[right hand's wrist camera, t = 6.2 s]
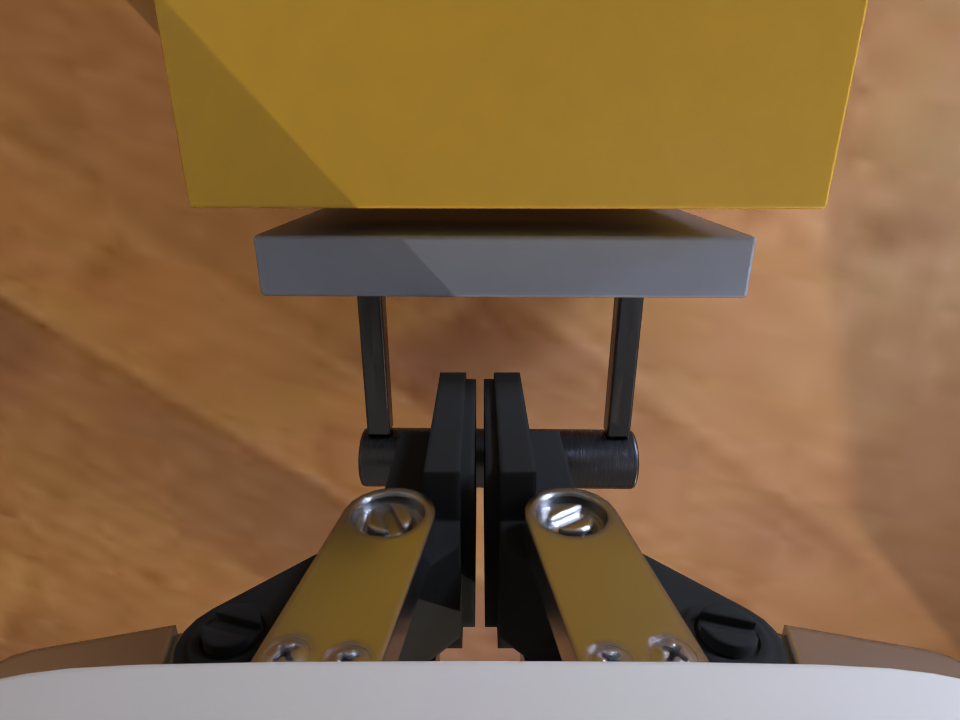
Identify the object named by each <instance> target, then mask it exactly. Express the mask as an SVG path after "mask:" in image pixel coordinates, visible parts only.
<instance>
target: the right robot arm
mask: <svg viewBox="0 0 960 720" xmlns="http://www.w3.org/2000/svg"><path fill="white" fill-rule="evenodd" d="M475 572H476V379H466V373H440V378H439V384H438V389H437V395H436V401H435V407H434V413H433V419H432V425H431V430H430V431H401V433H400V436H399V439H398V443H397V447H396V450H395V454H394V458H393V461H392V465H391V469H390V472H389V476H388V480H387V483H386V487H385V489H380V490H375V491H372V492H369V493H366V494H364V495H362V496H360V497H358V498H357V499H355V500H354V501H352V502H351V503H350V504H349V505H348V507H347V508H346V509H345V510H344V512H343V513H342V515H341V516H340V518H339V520H338V521H337V523H336V525H335V526H334V528H333V529H332V531H331V533H330V534H329V536H328V537H327V539H326V541H325V542H324V544H323V546H322V547H321V549H320V550H319V552H318V554H316V555H314V556H312V557H310V558H308V559H306V560H305V561H303V562H301V563H299V564H297V565H295V566H293V567H291V568H289V569H288V570H286V571H284V572H282V573H280V574H278V575H276V576H274V577H272V578H271V579H269V580H267V581H265V582H263V583H261V584H259V585H257V586H255V587H253V588H252V589H250V590H248V591H246V592H244V593H242V594H240V595H238V596H236V597H235V598H233V599H231V600H229V601H227V602H225V603H223V604H221V605H219V606H218V607H216V608H214V609H212V610H210V611H209V612H207V613H206V614H204V615H203V616H201V617H200V618H198V619H197V620H195V621H194V622H193V623H192V624H191V625H190V626H189V627H188V628H187V629H186V630H185V631H184V633H182V634H178V633H177V628H176V625H173V626H167V627H161V628H155V629H150V630H144V631H138V632H132V633H126V634H121V635H115V636H109V637H103V638H98V639H92V640H86V641H80V642H74V643H69V644H63V645H57V646H51V647H46V648H40V649H34V650H30V651H27V652H23V653H20V654H16V655H13V656H10V657H8V658H6V659H4V660H2V661H0V720H960V661H958V660H956V659H954V658H952V657H950V656H947V655H944V654H940V653H937V652H933V651H930V650H926V649H920V648H914V647H909V646H903V645H897V644H891V643H886V642H880V641H874V640H868V639H862V638H857V637H851V636H845V635H839V634H834V633H828V632H822V631H816V630H810V629H805V628H799V627H793V626H787V625H784V628H783V633H782V634H778V633H776V631H775V630H774V629H773V628H772V627H771V626H770V625H769V624H768V623H767V622H766V621H765V620H763V619H762V618H760V617H759V616H757V615H756V614H754V613H753V612H751V611H750V610H748V609H746V608H744V607H742V606H741V605H739V604H737V603H735V602H733V601H731V600H729V599H727V598H725V597H724V596H722V595H720V594H718V593H716V592H714V591H712V590H710V589H708V588H707V587H705V586H703V585H701V584H699V583H697V582H695V581H693V580H691V579H689V578H688V577H686V576H684V575H682V574H680V573H678V572H676V571H674V570H672V569H671V568H669V567H667V566H665V565H663V564H661V563H659V562H657V561H655V560H654V559H652V558H650V557H648V556H646V555H644V554H642V552H641V550H640V549H639V547H638V546H637V544H636V542H635V541H634V539H633V537H632V536H631V534H630V533H629V531H628V529H627V528H626V526H625V525H624V523H623V521H622V520H621V518H620V516H619V515H618V513H617V512H616V510H615V509H614V508H613V507H612V505H611V504H610V503H609V502H608V501H606V500H605V499H603V498H602V497H600V496H598V495H596V494H594V493H591V492H588V491H585V490H580V489H575V487H574V483H573V480H572V476H571V472H570V469H569V465H568V461H567V458H566V454H565V450H564V447H563V443H562V439H561V436H560V433H559V431H530V430H529V425H528V419H527V413H526V407H525V401H524V395H523V389H522V384H521V378H520V373H494V379H484V572H485V627H497V637H498V648H514V649H515V650H517V651H518V652H519V653H520V661H440V653H441V652H442V651H443V650H445V649H446V648H462V637H463V627H475Z"/></svg>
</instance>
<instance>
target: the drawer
mask: <svg viewBox="0 0 960 720" xmlns="http://www.w3.org/2000/svg"><path fill="white" fill-rule="evenodd" d="M254 243H255V251H256V258H257V265H258V273H259V280H260V287H261V293H262V295H265V296H357V300H358V313H359V326H360V339H361V352H362V365H363V378H364V391H365V404H366V417H367V428H366V429H365V430H364V431H363V434H362V436H361V440H360V446H359V457H358V467H359V476H360V480H361V483H362V485H364V486H386V483H387V480H388V476H389V472H390V469H391V465H392V461H393V458H394V454H395V450H396V447H397V443H398V439H399V436H400V433H401V431H430V430H431V428H392V426H393V417H392V400H391V383H390V366H389V349H388V332H387V315H386V298H385V296H421V297H614V309H613V321H612V333H611V345H610V357H609V369H608V380H607V392H606V404H605V416H604V429H605V430H584V429H529V430H530V431H559V433H560V436H561V439H562V443H563V447H564V450H565V454H566V458H567V461H568V465H569V469H570V472H571V476H572V480H573V483H574V487H575V488H583V489H632V488H634V487H635V485H636V482H637V479H638V472H639V453H638V446H637V441H636V438H635V435H634V433H633V432H632V431H630V427H631V417H632V407H633V398H634V388H635V378H636V368H637V358H638V349H639V339H640V329H641V319H642V310H643V300H644V298H743V297H745V296H746V294H747V288H748V282H749V276H750V270H751V264H752V258H753V252H754V246H755V237H753V236H751V235H748V234H745V233H742V232H739V231H737V230H734V229H731V228H728V227H726V226H723V225H720V224H717V223H714V222H712V221H709V220H706V219H703V218H701V217H698V216H695V215H692V214H689V213H687V212H684V211H681V210H678V209H503V208H324V209H321V210H319V211H316V212H314V213H311V214H308V215H306V216H303V217H301V218H298V219H296V220H293V221H291V222H288V223H286V224H283V225H281V226H278V227H276V228H273V229H271V230H268V231H265V232H263V233H260V234H258V235H256V236H255V237H254ZM476 487H484V429H476Z"/></svg>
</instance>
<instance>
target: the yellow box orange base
mask: <svg viewBox="0 0 960 720" xmlns="http://www.w3.org/2000/svg"><path fill="white" fill-rule="evenodd" d="M154 4H155V10H156V16H157V22H158V28H159V33H160V39H161V45H162V51H163V57H164V63H165V68H166V74H167V80H168V86H169V92H170V97H171V103H172V109H173V115H174V121H175V127H176V132H177V138H178V144H179V150H180V156H181V161H182V167H183V173H184V179H185V185H186V191H187V196H188V202H189V205H190V207H193V208H503V209H823V208H825V207H826V205H827V200H828V195H829V190H830V185H831V180H832V175H833V170H834V165H835V161H836V156H837V151H838V146H839V141H840V136H841V131H842V126H843V121H844V117H845V112H846V107H847V102H848V97H849V92H850V87H851V82H852V77H853V73H854V68H855V63H856V58H857V53H858V48H859V43H860V38H861V33H862V28H863V24H864V19H865V14H866V9H867V4H868V0H154Z"/></svg>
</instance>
